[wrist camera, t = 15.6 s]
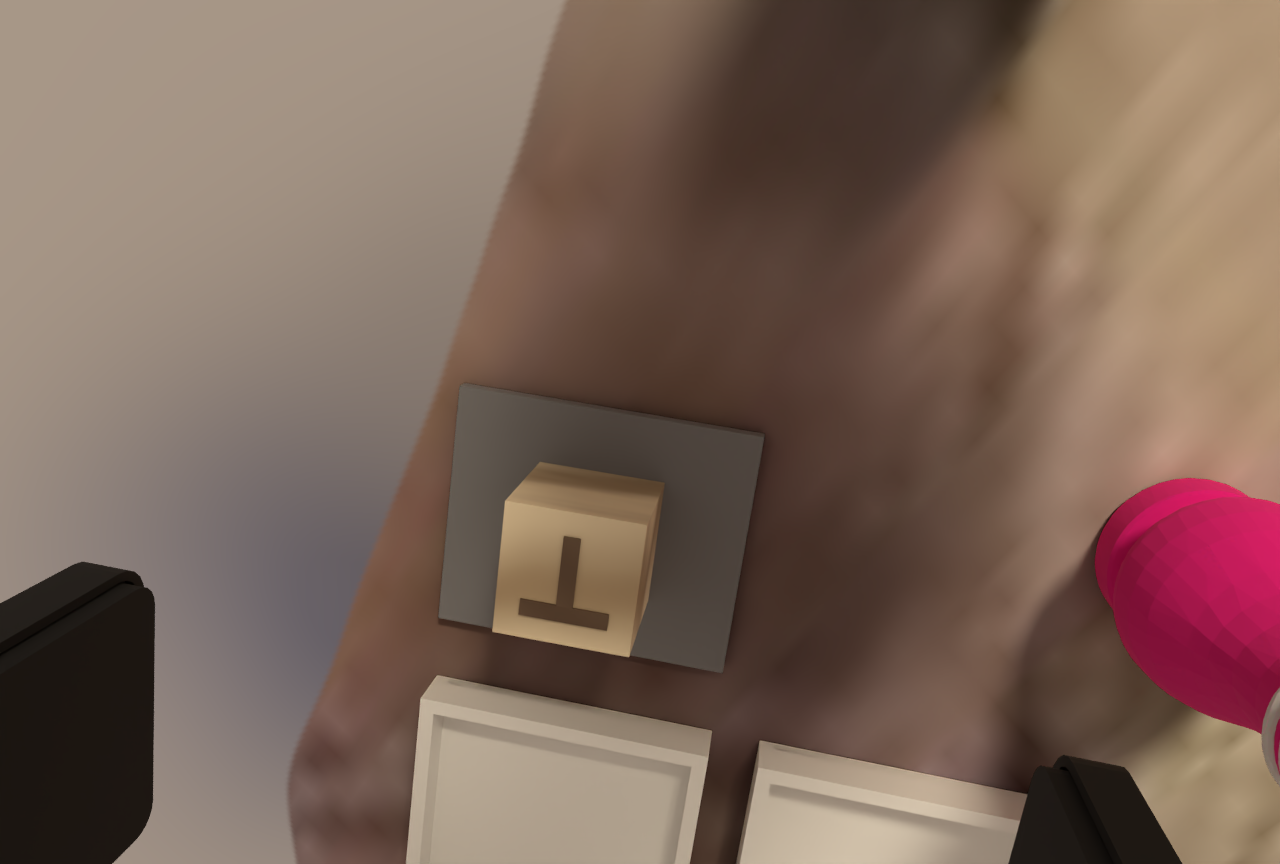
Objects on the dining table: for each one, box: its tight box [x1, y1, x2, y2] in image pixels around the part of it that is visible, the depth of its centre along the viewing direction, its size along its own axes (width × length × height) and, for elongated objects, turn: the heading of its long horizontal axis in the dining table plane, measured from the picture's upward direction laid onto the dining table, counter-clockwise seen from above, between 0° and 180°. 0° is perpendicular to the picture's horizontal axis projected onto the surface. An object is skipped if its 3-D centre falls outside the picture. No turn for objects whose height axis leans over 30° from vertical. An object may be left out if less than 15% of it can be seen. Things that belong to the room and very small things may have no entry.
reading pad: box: [438, 383, 765, 673], centre depth 40 cm, size 10×12×1 cm
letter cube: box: [492, 462, 665, 657], centre depth 37 cm, size 5×5×5 cm
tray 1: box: [406, 675, 712, 864], centre depth 42 cm, size 12×12×2 cm
